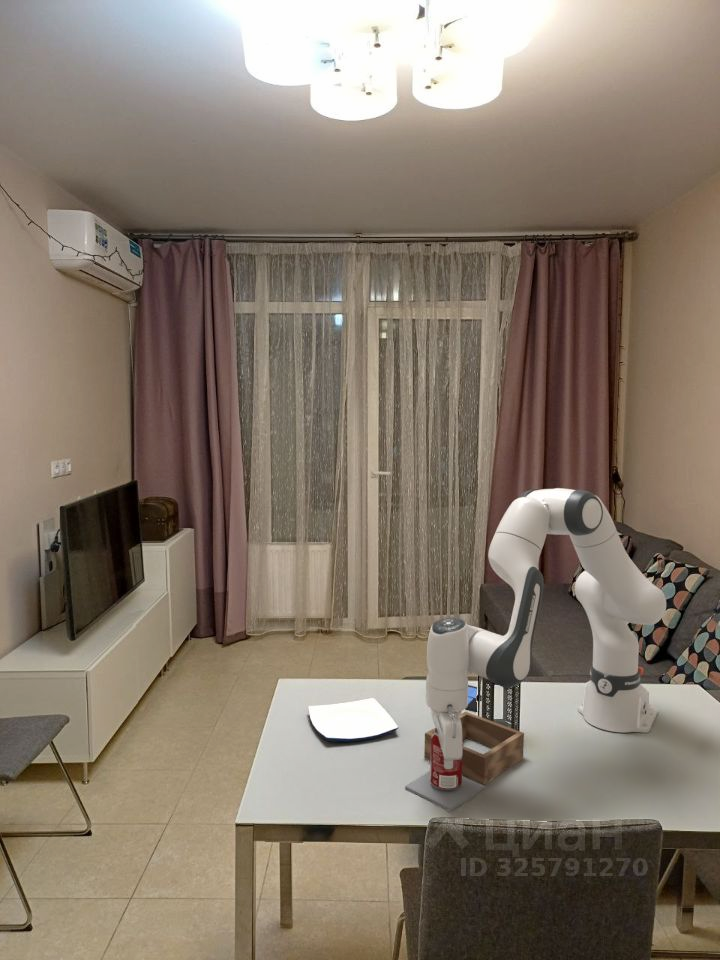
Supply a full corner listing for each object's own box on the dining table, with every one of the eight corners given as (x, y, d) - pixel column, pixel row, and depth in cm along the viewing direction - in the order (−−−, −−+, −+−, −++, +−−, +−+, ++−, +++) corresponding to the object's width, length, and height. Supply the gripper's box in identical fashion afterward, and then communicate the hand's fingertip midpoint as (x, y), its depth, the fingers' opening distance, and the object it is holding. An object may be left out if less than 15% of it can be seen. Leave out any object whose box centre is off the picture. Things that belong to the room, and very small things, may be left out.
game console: (430, 702, 192) (430, 694, 191) (450, 687, 202) (450, 680, 202) (478, 715, 184) (478, 707, 184) (496, 698, 195) (496, 691, 194)
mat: (438, 768, 155) (439, 765, 155) (483, 788, 147) (484, 785, 147) (405, 788, 146) (405, 786, 146) (450, 811, 138) (450, 808, 138)
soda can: (460, 795, 143) (461, 741, 142) (427, 790, 145) (429, 736, 143) (463, 778, 149) (464, 726, 148) (432, 773, 151) (433, 722, 150)
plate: (375, 705, 189) (375, 696, 189) (403, 739, 170) (403, 728, 169) (303, 714, 182) (303, 705, 182) (323, 750, 163) (323, 740, 163)
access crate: (464, 734, 171) (465, 711, 171) (523, 757, 160) (524, 733, 160) (424, 757, 160) (424, 733, 159) (484, 784, 148) (485, 758, 148)
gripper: (471, 717, 134) (469, 784, 136) (453, 677, 155) (452, 736, 156) (439, 717, 134) (437, 785, 136) (426, 677, 155) (424, 736, 156)
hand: (445, 758), depth 146 cm, fingers closed on soda can, 6 cm apart
